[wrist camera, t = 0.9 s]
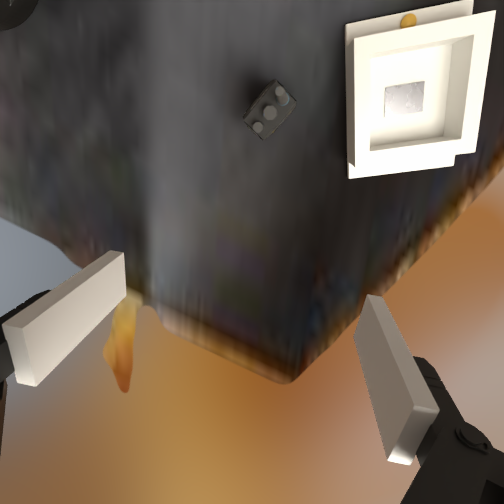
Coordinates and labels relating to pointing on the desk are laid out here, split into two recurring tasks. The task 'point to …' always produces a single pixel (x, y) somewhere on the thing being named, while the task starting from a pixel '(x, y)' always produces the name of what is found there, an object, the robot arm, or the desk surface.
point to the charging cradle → (415, 88)
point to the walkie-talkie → (269, 110)
